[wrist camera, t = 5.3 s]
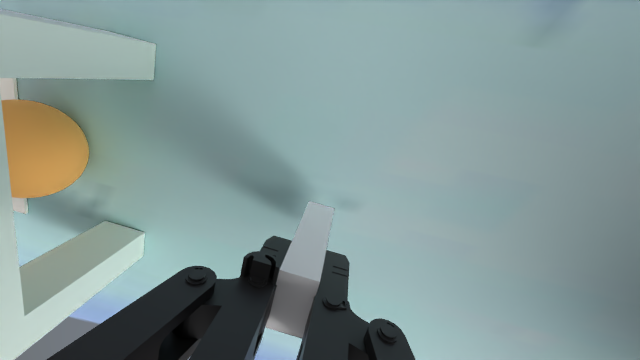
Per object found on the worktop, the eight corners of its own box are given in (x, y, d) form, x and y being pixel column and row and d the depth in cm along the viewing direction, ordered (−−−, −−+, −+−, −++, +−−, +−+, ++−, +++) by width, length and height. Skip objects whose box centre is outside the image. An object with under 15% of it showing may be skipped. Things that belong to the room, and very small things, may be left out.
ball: (92, 119, 16) (-74, 107, 12) (93, 210, 18) (-52, 222, 14) (84, 97, 20) (-46, 82, 16) (85, 174, 21) (-31, 176, 18)
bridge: (155, 44, 17) (-60, 2, 8) (143, 255, 22) (-1, 371, 13) (106, 30, 17) (-157, -24, 8) (104, 244, 22) (-64, 351, 13)
